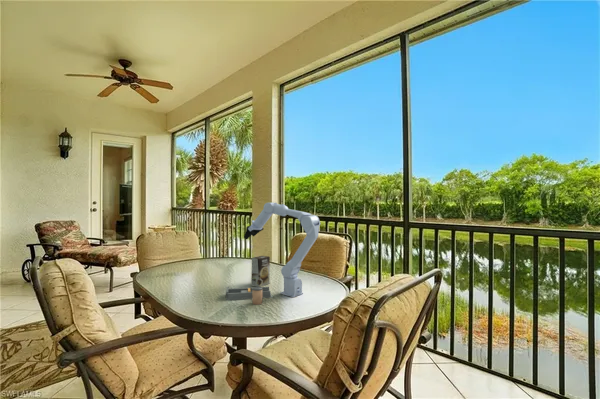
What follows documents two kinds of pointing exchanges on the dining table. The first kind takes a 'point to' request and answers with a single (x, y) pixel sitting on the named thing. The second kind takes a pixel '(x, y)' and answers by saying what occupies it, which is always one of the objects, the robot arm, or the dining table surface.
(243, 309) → the dining table surface
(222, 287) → the dining table surface
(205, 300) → the dining table surface
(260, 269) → the coffee box
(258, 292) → the jar
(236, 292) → the tray
